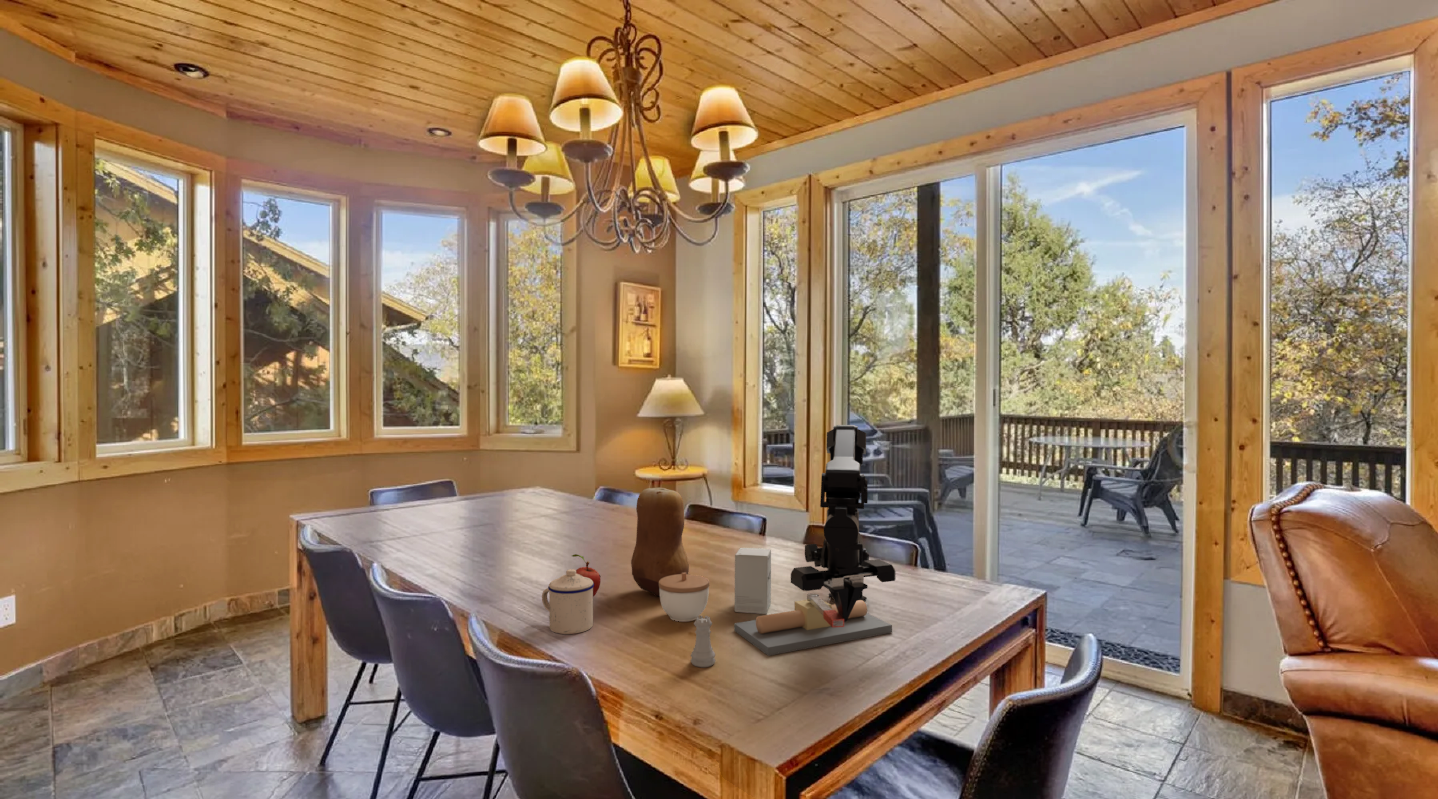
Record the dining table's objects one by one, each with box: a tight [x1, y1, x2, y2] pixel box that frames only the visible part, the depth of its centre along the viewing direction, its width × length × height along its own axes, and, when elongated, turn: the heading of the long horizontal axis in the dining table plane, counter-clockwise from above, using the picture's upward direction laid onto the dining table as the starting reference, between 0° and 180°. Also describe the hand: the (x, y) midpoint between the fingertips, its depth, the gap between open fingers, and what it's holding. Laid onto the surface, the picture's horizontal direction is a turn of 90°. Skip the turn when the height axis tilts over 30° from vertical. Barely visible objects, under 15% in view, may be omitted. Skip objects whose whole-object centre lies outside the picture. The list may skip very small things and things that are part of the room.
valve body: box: [733, 599, 893, 657], centre depth 135 cm, size 28×14×6 cm, turn 115°
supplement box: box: [734, 547, 772, 615], centre depth 149 cm, size 7×7×13 cm
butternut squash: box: [630, 487, 690, 597], centre depth 160 cm, size 14×13×25 cm
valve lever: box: [806, 592, 844, 628], centre depth 128 cm, size 16×2×1 cm, turn 9°
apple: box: [571, 553, 602, 598], centre depth 157 cm, size 8×7×10 cm
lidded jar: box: [659, 572, 710, 623], centre depth 144 cm, size 11×11×9 cm
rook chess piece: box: [690, 615, 716, 668], centre depth 119 cm, size 4×4×8 cm
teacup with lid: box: [541, 568, 594, 635], centre depth 138 cm, size 12×9×12 cm
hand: (843, 621), depth 124 cm, fingers closed
